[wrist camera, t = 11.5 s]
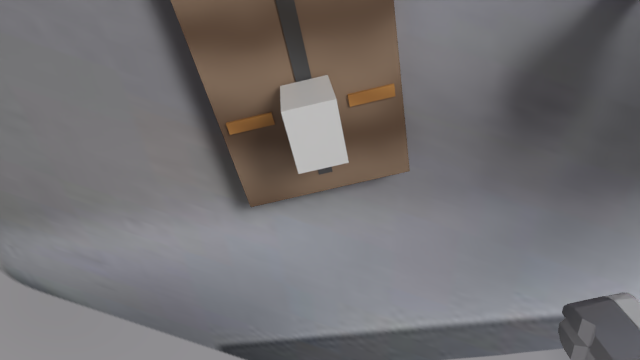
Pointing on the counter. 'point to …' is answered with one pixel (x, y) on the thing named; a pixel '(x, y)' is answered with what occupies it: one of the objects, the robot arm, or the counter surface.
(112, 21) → the counter surface
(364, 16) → the fader board
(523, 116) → the counter surface
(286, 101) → the fader tab
